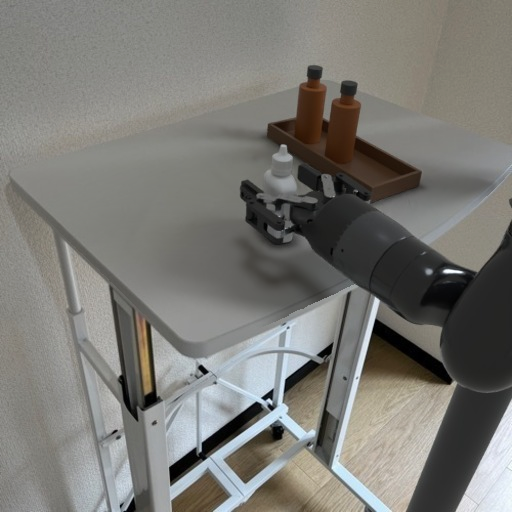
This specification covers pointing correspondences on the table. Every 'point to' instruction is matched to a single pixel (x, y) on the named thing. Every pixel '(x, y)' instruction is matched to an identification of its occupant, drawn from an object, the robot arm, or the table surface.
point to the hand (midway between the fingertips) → (272, 178)
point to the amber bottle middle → (343, 124)
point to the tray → (359, 168)
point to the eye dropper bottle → (280, 180)
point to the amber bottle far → (310, 107)
